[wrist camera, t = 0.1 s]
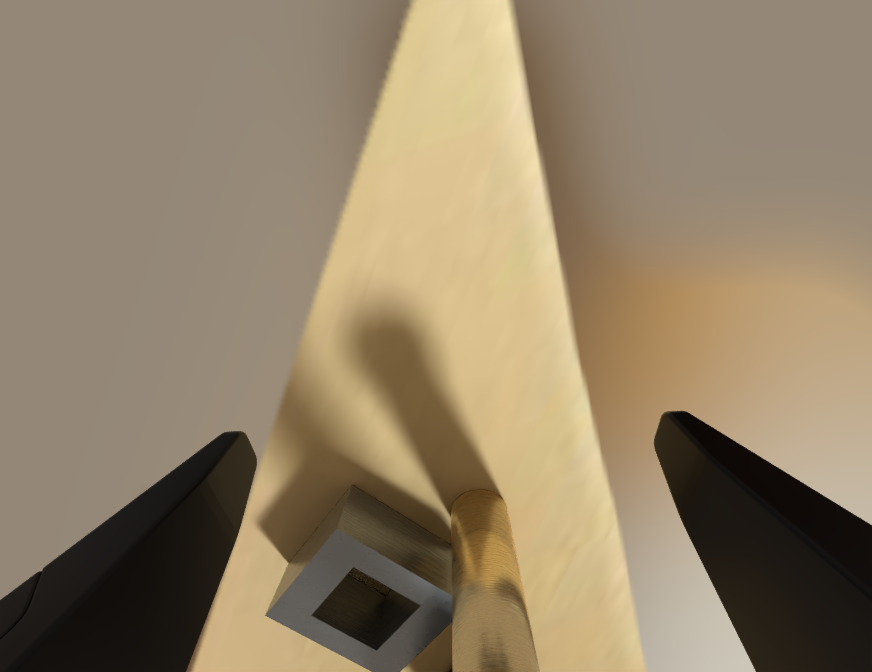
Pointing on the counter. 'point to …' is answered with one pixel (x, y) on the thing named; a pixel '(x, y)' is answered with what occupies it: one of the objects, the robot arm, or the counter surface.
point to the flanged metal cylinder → (487, 590)
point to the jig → (356, 602)
